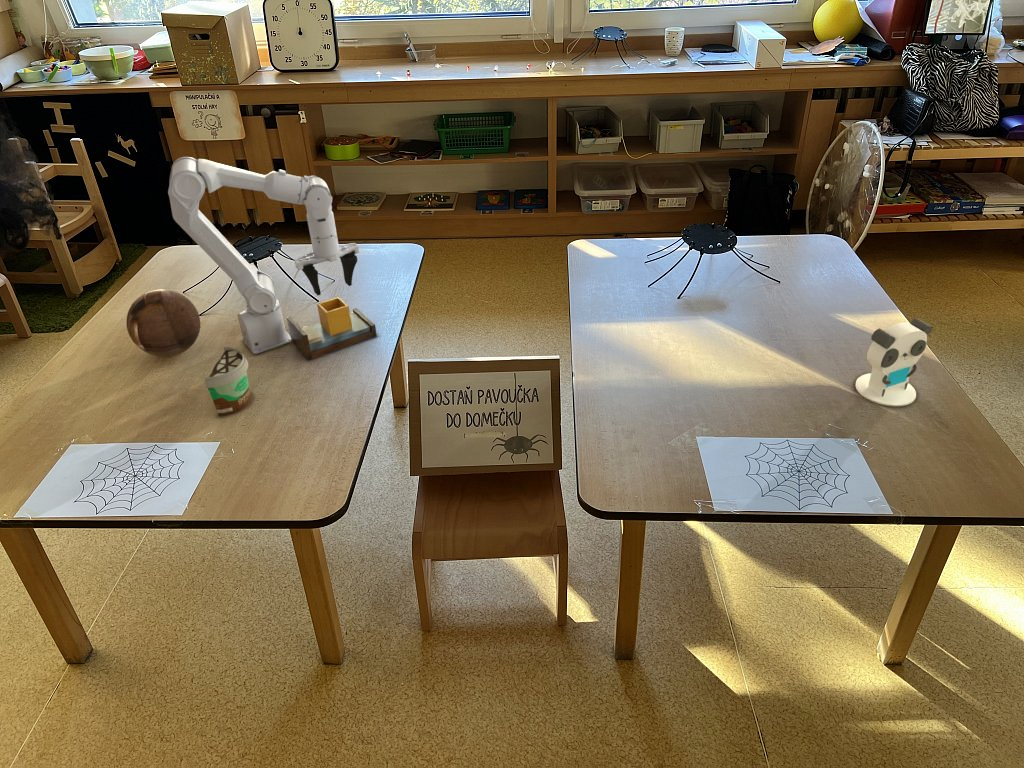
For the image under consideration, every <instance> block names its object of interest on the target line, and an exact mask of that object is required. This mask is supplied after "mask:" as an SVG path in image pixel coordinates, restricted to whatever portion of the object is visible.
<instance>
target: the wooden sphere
mask: <svg viewBox="0 0 1024 768" xmlns="http://www.w3.org/2000/svg"><path fill="white" fill-rule="evenodd" d="M126 330H127V333H128V336H129V337H130V339H131V341H132V342H133V343H134V344H135V346H136V347H138V348H139V349H140V350H141V351H143V352H145V353H147V354H149V355H151V356H155V357H159V358H160V357H161V358H169V357H174V356H178V355H182V354H183V353H185V352H186V351H187V350H189V349H190V348H191V347H192V346H193V345H194V344H195V343H196V341H197V339H198V338H199V335H200V331H201V317H200V314H199V311H198V309H197V308H196V306H195V304H194V303H193V302H192V301H191V300H190V299H189V298H188V297H186V296H185V295H183V294H182V293H180V292H178V291H175V290H170V289H164V288H163V289H162V288H161V289H154V290H149V291H147V292H145V293H143V294H141V295H140V296H138V297H137V298H136V299H135V300H134V301H133V302H132V304H131V305H130V307H129V308H128V311H127V315H126Z"/></svg>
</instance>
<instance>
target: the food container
mask: <svg viewBox="0 0 1024 768" xmlns="http://www.w3.org/2000/svg"><path fill="white" fill-rule="evenodd" d="M223 351H224V352H223V353H222V355H221V357H220V358H219V359H218V360H217V362H216V363H215V364H214V366H213V369H212V371H211V373H210V375H209V376H208V377H204V385H205V388H206V389H208V392H209V395H210V398H211V401H212V402H213V403H212V404H213V405H214V407H215V410H216V413H217V415H218V417H226V416H229V415H234V414H236V413H238V412H240V411H243V409H245V408H246V407H247V406H249V405H250V403H251V400H252V396H251V395H252V394H251V390H250V385H249V379H248V373H247V371H248V369H249V362H248V360H247V358H246V356H245V354H243V352H242V351H241V350H239V349H238V348H235V347H231V346H223Z"/></svg>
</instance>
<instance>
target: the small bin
mask: <svg viewBox="0 0 1024 768" xmlns="http://www.w3.org/2000/svg"><path fill="white" fill-rule="evenodd" d="M316 307H317V312H318V317H319V323H321V327H322V328H323V329H324V330H325V331H326V332H327V333H328V334H329V335H330V336H332V335H335V334H338V333H341V332H344V331H347V330H350V329H352V323H351V317H350V313H351V312H350V306H349V305H348V304H347V303H346V302H345V301H344V300H343V299H342V298H341V297H340V296H337V297H333V298H331V299H328V300H324V301H321V302H318V303H316Z"/></svg>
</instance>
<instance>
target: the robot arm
mask: <svg viewBox="0 0 1024 768" xmlns="http://www.w3.org/2000/svg"><path fill="white" fill-rule="evenodd" d="M168 181H169V186H168V190H167V194H168V198H169V203H170V208H171V209H170V210H171V215H172V219H173V220H174V222H175V223H176V224H177V225H179V227H180V228H181V229H182V230H183V231H184V232H185V233H186V234H187V235H188V236H189V237H190V238H191V239H192V240H193V241H194V242H195V243H196V244H197V245H198V246H199V248H201V250H203V251H204V252H205V253H206V255H207V256H208V257H209V258H210V259H211V260H212V261H213V262H214V263H215V264H216V265H217V266H218V267H219V268H220V269H221V270H222V271H223V272H224V273H225V274H226V275H227V276H228V277H229V278H230V279H231V280H232V281H233V283H234V284H235V286H236V288H237V290H238V292H239V294H240V295H241V296H242V297H243V299H244V300H245V304H246V309H244V310H243V311H241V312H239V313H238V314H237V320H238V325H239V328H240V331H241V335H242V341H243V342H244V344H245V345H246V347H248V349H249V350H250V351H251V353H253V355H257V354H260V353H263V352H266V351H270V350H272V349H275V348H278V347H282V346H285V345H287V344H290V343H292V340H291V336H290V333H289V332H288V331H287V330H286V325H285V320H284V317H283V311H282V308H281V301H279V299H278V298H277V297H276V295H275V288H274V280H273V278H272V277H271V276H270V275H269V274H268V273H266V272H263V271H261V270H260V269H258V267H257V266H256V265H254V264H251V263H249V262H248V261H247V260H246V259H245V258H244V256H242V254H241V252H239V251H238V250H237V249H236V248H235V247H234V246H233V244H232V243H231V242H230V241H229V240H228V238H226V237H225V236H224V235H223V234H222V233H221V232H220V231H219V229H217V228H216V226H215V225H214V224H213V223H212V222H211V221H210V219H208V218H207V217H206V216H205V214H203V213H202V212H201V210H200V209H199V208H200V207H199V206H200V201H201V200H202V198H203V197H204V194H205V190H206V189H207V191H208V194H211V193H214V192H216V191H217V190H218V189H220V188H222V187H229V188H237V189H244V190H251V191H256V192H263V193H264V194H265V196H266V197H267V198H268V199H269V200H274V201H279V202H284V203H290V204H295V205H300V206H301V205H304V206H305V209H306V221H307V227H308V231H309V235H310V236H309V237H310V242H311V247H312V251H311V252H308V253H306V254H304V255H302V256H300V257H296V258H294V259H293V260H294V265H295V268H296V269H297V270H298V271H302V272H303V274H304V275H305V276H306V278H307V279H308V281H309V283H310V285H311V287H312V289H313V292H314V294H316V295H317V296H321V295H322V294H321V287H320V284H319V271H318V270H317V269H316V267H315V265H317V264H322V263H324V262H329V263H332V262H336V261H338V260H339V259H340V263H341V266H342V271H343V272H342V273H343V278H344V282H345V284H346V285H347V286H348V287H351V286H352V285H353V275H354V270H355V268H356V265H357V263H358V256H357V255H358V254H360V250H359V249H360V248H359V245H358V244H357V243H356V242H351V243H345V244H339V240H338V239H339V238H338V234H337V228H336V222H335V216H334V212H333V211H332V210H333V206H332V203H333V196H332V194H331V190H330V189H329V186H328V184H327V182H326V181H325V180H324V179H322V178H321V177H318V176H316V175H309V176H308V175H303V176H297V175H293V174H288V173H287V172H286V170H283V169H278V171H275V170H272V171H270V172H269V173H267V174H261V173H258V172H253V171H249V170H246V169H242V168H238V167H234V166H230V165H226V164H222V163H218V162H215V161H212V160H208V159H204V158H198V159H196V158H194V157H190V156H182V157H179V158H177V159H175V161H174V162H173V164H172V165H171V170H170V174H169V180H168Z"/></svg>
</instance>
